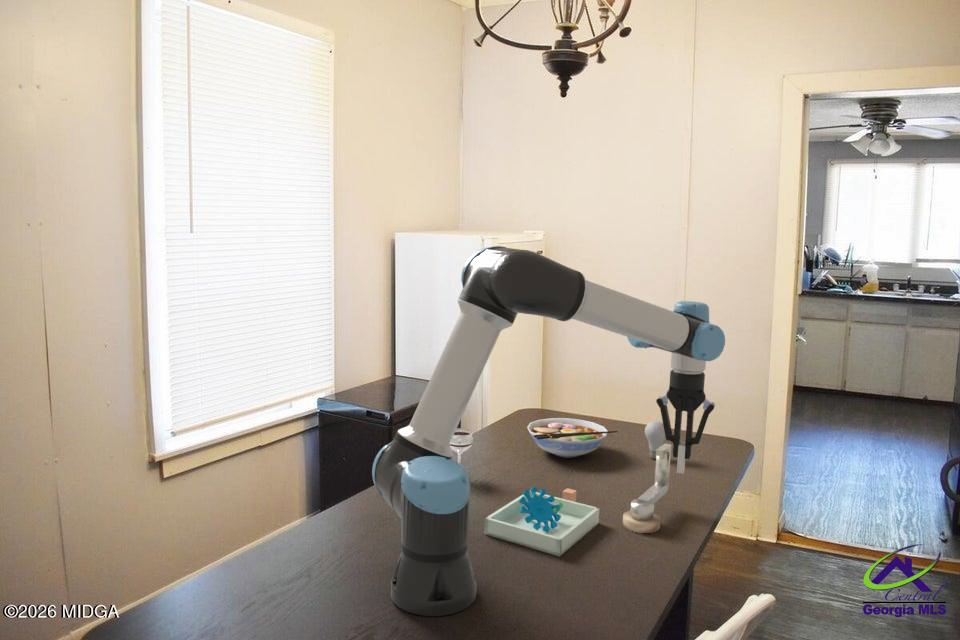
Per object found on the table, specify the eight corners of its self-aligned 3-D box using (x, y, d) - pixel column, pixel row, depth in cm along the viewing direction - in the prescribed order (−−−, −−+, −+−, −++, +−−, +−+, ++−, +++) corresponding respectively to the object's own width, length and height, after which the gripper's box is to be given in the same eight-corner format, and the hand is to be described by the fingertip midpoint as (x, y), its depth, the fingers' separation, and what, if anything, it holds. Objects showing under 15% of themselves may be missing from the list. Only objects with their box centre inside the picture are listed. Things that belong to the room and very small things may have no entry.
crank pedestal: (652, 537, 156) (653, 528, 156) (617, 527, 160) (617, 518, 160) (664, 524, 163) (665, 515, 163) (630, 515, 167) (630, 507, 167)
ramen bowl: (588, 439, 224) (589, 413, 223) (625, 463, 202) (626, 435, 201) (511, 444, 216) (512, 417, 215) (541, 470, 195) (542, 441, 194)
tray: (559, 556, 146) (560, 539, 145) (484, 534, 155) (484, 518, 155) (598, 523, 162) (599, 508, 162) (528, 504, 172) (529, 490, 171)
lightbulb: (668, 458, 208) (670, 420, 206) (661, 464, 203) (663, 425, 201) (647, 454, 211) (649, 416, 210) (639, 459, 206) (642, 421, 205)
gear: (529, 530, 152) (516, 485, 158) (515, 541, 156) (503, 498, 162) (572, 527, 158) (558, 484, 163) (557, 538, 162) (544, 496, 167)
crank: (648, 523, 158) (652, 467, 156) (626, 517, 161) (630, 462, 159) (675, 497, 173) (678, 445, 171) (654, 492, 176) (657, 441, 174)
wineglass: (473, 473, 191) (474, 428, 190) (470, 482, 185) (471, 436, 183) (447, 472, 192) (448, 427, 190) (443, 481, 185) (444, 435, 184)
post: (571, 510, 169) (572, 493, 169) (561, 507, 170) (562, 491, 170) (575, 506, 171) (576, 490, 171) (566, 504, 172) (567, 488, 172)
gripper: (719, 370, 166) (711, 470, 170) (660, 364, 171) (654, 462, 174) (716, 376, 159) (708, 481, 163) (655, 370, 164) (649, 472, 167)
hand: (680, 471), depth 168 cm, fingers closed
